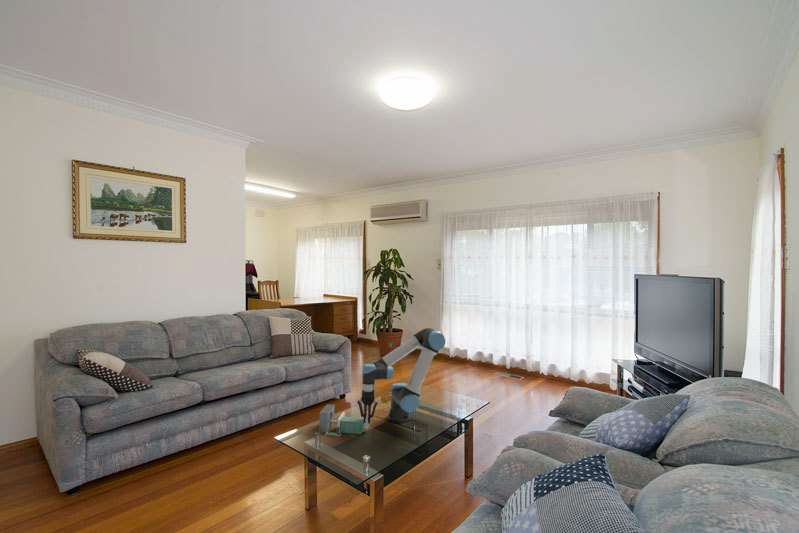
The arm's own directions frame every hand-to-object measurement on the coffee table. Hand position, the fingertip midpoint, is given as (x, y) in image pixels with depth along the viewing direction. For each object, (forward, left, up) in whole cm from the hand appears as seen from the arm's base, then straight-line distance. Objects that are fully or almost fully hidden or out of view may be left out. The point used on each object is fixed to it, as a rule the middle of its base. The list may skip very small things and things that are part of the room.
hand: (366, 428), depth 226 cm
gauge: (+21, +1, -2) cm, 21 cm away
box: (+9, +1, -2) cm, 9 cm away
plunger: (+22, +2, -2) cm, 22 cm away
